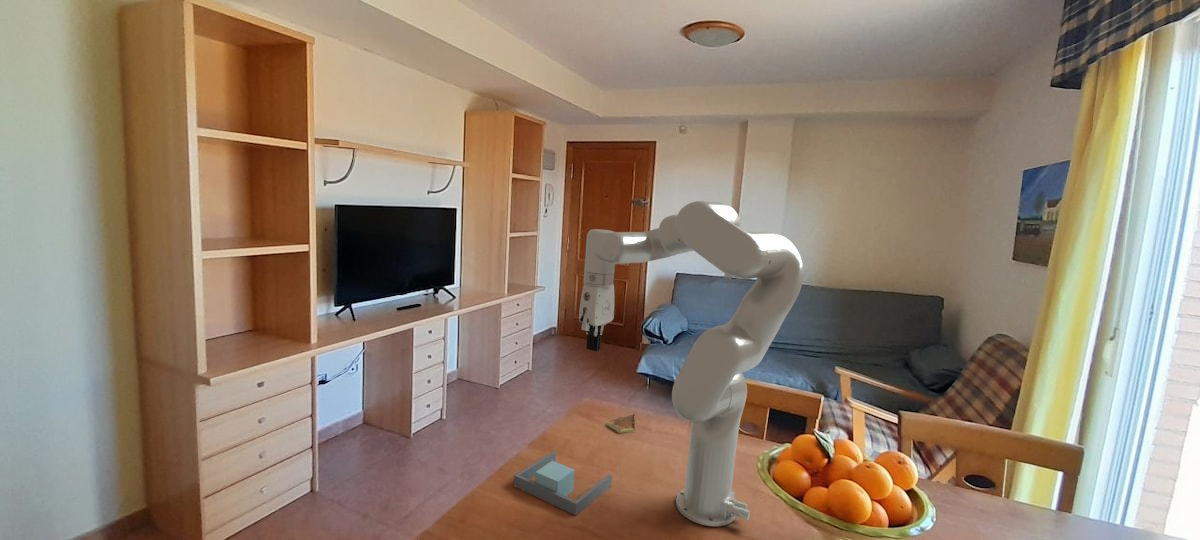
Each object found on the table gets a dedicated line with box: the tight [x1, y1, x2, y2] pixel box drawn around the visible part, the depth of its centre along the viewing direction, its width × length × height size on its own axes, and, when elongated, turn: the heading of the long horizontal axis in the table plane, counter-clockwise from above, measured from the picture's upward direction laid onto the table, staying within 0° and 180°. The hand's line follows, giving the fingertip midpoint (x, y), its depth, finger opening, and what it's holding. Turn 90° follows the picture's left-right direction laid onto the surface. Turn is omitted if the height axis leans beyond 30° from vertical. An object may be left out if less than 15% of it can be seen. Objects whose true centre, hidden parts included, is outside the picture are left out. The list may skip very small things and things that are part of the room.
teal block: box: [534, 460, 575, 497], centre depth 109 cm, size 6×6×5 cm
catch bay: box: [513, 450, 613, 516], centre depth 111 cm, size 17×14×2 cm
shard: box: [606, 413, 636, 434], centre depth 143 cm, size 11×8×2 cm
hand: (593, 349), depth 129 cm, fingers closed
